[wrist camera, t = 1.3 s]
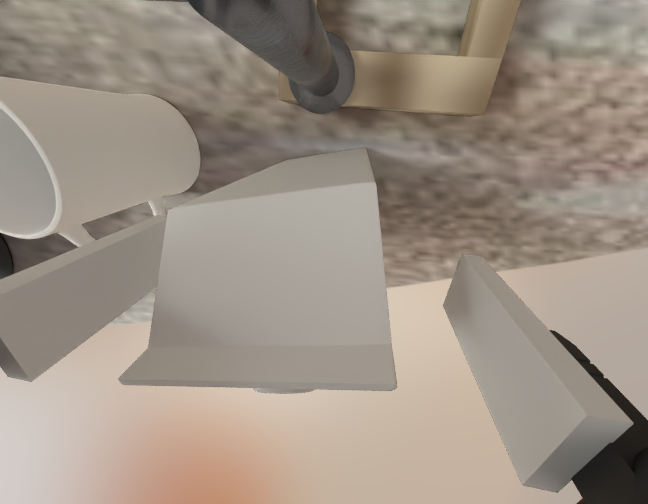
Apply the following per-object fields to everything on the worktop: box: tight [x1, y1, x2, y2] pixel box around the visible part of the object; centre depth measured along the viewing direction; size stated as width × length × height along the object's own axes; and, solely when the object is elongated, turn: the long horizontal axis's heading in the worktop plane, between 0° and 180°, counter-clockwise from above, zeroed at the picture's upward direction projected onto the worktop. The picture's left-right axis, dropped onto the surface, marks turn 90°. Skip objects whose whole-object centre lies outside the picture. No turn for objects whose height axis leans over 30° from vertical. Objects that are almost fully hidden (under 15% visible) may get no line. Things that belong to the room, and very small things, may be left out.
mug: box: [0, 76, 201, 247], centre depth 18 cm, size 12×8×12 cm
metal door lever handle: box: [149, 0, 355, 114], centre depth 12 cm, size 8×4×16 cm, turn 86°
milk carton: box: [119, 148, 397, 394], centre depth 14 cm, size 7×7×19 cm
